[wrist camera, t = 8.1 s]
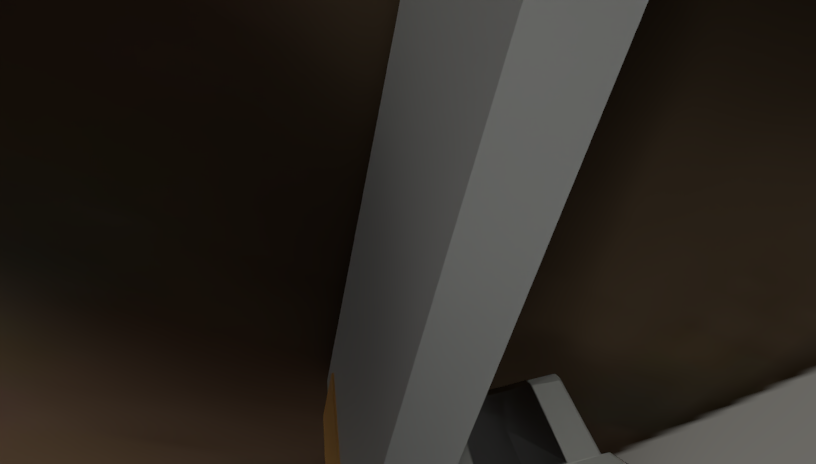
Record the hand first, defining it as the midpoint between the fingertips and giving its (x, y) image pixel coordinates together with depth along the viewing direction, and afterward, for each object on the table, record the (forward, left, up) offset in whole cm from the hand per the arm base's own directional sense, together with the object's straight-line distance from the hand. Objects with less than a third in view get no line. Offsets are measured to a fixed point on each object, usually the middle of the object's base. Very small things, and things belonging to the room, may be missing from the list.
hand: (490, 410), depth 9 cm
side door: (-4, -2, -3) cm, 5 cm away
